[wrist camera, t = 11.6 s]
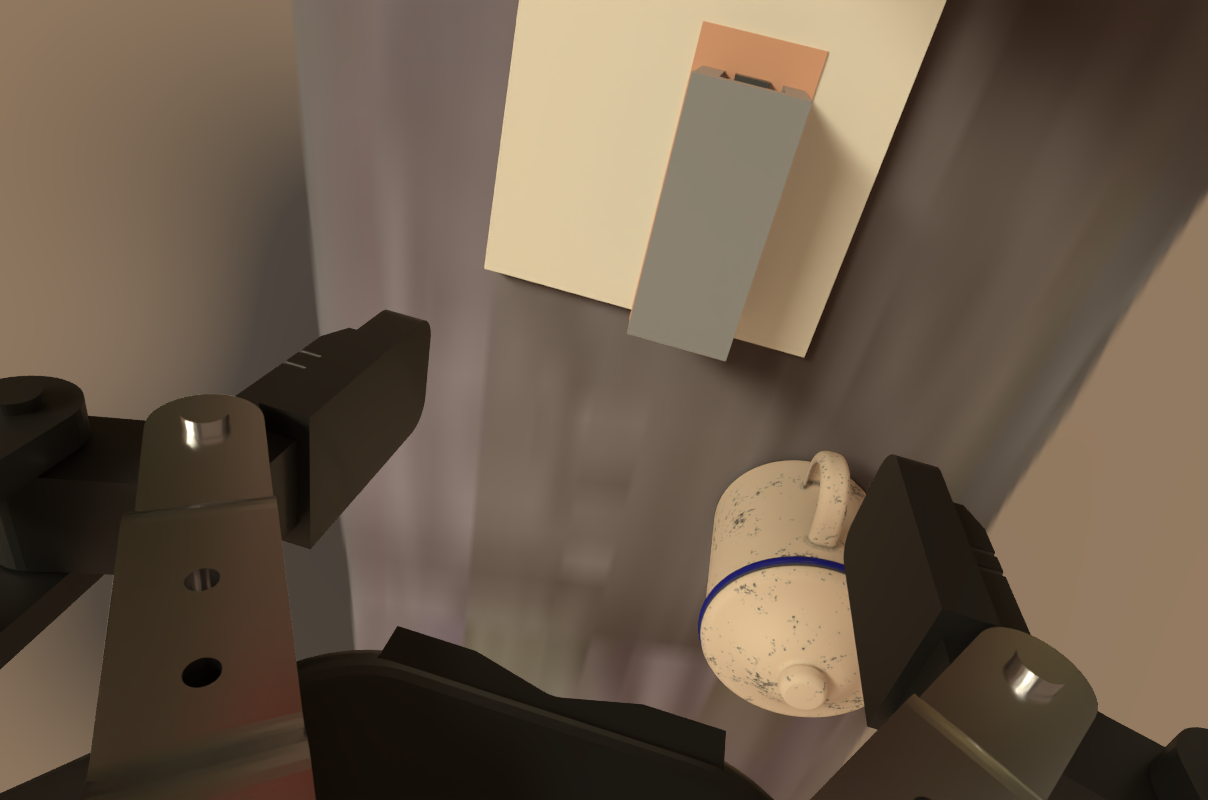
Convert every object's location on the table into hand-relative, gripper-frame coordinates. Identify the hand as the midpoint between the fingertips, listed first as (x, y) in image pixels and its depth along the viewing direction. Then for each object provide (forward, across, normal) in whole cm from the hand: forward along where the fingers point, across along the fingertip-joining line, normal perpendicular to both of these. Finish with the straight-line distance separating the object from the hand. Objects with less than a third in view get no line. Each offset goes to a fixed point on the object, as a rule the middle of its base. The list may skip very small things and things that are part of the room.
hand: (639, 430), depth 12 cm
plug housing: (+21, 0, 0) cm, 21 cm away
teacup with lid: (+22, -9, +15) cm, 28 cm away
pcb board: (+22, +2, -4) cm, 22 cm away
